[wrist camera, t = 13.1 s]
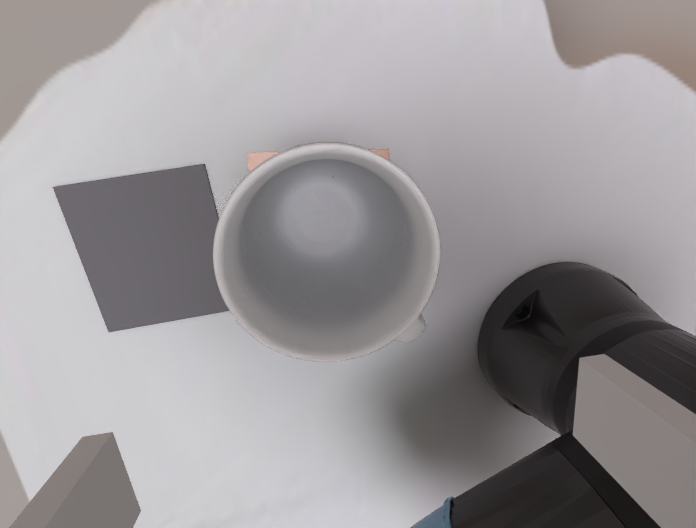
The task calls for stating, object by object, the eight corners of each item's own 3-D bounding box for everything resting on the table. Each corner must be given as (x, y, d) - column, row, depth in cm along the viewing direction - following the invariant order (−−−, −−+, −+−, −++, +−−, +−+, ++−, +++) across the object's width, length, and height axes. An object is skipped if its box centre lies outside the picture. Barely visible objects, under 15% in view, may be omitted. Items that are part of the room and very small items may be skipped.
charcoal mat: (206, 163, 28) (204, 164, 27) (242, 304, 32) (241, 308, 31) (59, 186, 27) (52, 187, 27) (113, 327, 31) (108, 332, 30)
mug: (441, 249, 32) (528, 311, 19) (349, 332, 33) (376, 440, 21) (320, 114, 28) (333, 82, 15) (221, 216, 29) (157, 263, 16)
